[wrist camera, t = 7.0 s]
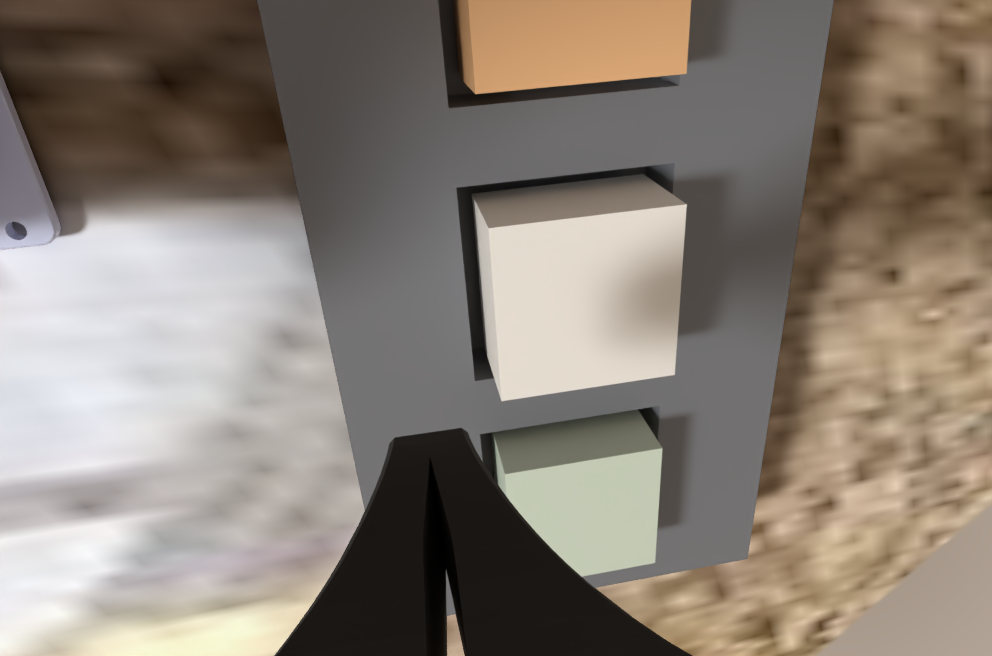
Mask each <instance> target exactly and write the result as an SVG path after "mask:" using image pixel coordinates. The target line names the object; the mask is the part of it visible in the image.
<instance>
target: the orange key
mask: <svg viewBox="0 0 992 656" xmlns="http://www.w3.org/2000/svg"><path fill="white" fill-rule="evenodd" d="M453 9H454V21H455V32H456V44H457V55H458V67H459V78H460V79H461V80H462V81H463V82H464V83H465V84H466V85H467V86H468V87H469V88H470V89H471V90H472V91H473V92H474V93H475V94H483V93H493V92H504V91H514V90H524V89H535V88H545V87H555V86H566V85H576V84H586V83H597V82H607V81H618V80H628V79H638V78H649V77H659V76H669V75H680V74H687V59H688V43H689V28H690V12H691V0H453Z"/></svg>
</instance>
